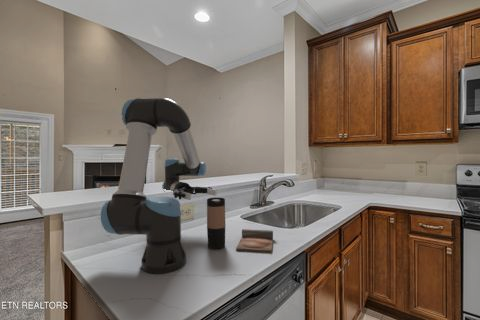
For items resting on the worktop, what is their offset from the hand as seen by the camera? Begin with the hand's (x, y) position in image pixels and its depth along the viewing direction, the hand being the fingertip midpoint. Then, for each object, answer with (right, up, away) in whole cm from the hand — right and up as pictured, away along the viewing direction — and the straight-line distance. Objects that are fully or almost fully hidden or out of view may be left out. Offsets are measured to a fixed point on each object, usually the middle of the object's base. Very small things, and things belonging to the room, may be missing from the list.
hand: (203, 194), depth 107 cm
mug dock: (+23, -21, -5) cm, 31 cm away
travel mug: (+7, -21, -7) cm, 23 cm away
